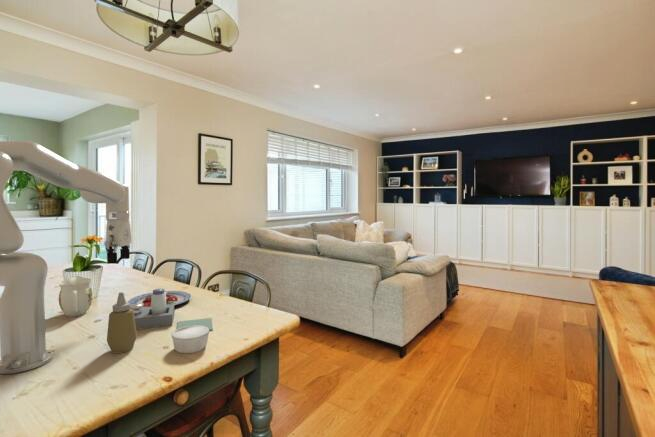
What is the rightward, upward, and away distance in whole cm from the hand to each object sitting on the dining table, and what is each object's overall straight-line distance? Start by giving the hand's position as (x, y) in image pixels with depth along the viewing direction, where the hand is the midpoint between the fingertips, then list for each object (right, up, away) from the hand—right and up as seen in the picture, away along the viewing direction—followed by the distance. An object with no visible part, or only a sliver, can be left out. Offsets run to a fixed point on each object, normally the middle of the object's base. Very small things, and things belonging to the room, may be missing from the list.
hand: (118, 260), depth 129 cm
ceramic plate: (+4, -22, +23) cm, 33 cm away
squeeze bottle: (+16, -25, -24) cm, 38 cm away
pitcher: (-22, -23, +7) cm, 32 cm away
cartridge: (+15, -23, +1) cm, 28 cm away
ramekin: (+36, -25, -21) cm, 49 cm away
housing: (+12, -23, 0) cm, 26 cm away
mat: (+31, -24, -4) cm, 39 cm away
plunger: (+8, -21, -2) cm, 22 cm away
